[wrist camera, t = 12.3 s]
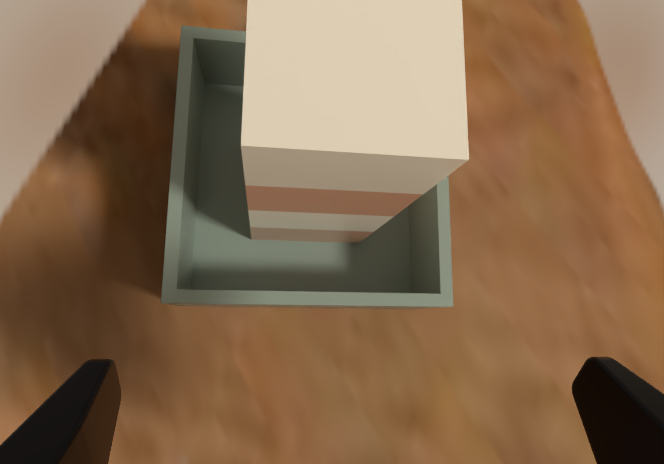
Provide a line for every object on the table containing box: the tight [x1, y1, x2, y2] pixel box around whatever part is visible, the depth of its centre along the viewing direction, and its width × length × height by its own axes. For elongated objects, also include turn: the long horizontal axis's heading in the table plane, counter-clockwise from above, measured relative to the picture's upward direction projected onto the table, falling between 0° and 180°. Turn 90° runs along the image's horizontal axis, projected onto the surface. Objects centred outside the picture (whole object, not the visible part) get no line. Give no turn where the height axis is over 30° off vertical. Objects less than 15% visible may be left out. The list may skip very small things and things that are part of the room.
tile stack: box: [241, 0, 469, 243], centre depth 16 cm, size 5×5×12 cm
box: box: [161, 26, 453, 309], centre depth 21 cm, size 11×11×4 cm
